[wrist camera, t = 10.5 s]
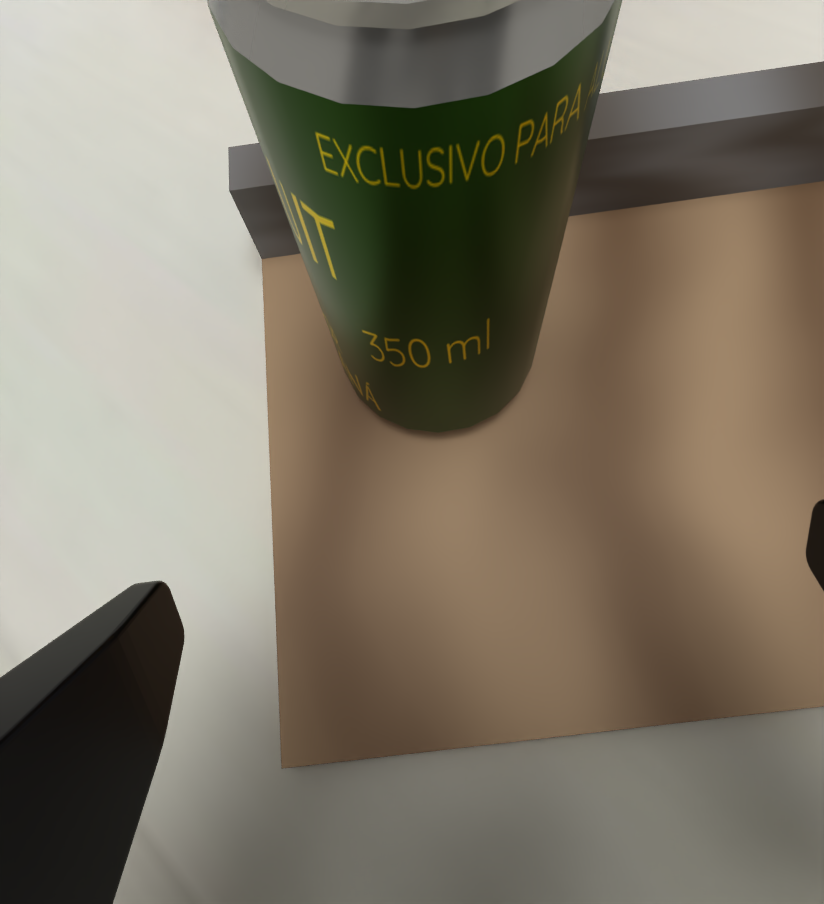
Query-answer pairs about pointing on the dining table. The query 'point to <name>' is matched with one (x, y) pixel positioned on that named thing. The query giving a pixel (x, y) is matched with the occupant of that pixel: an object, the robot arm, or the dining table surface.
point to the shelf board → (574, 459)
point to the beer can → (425, 178)
